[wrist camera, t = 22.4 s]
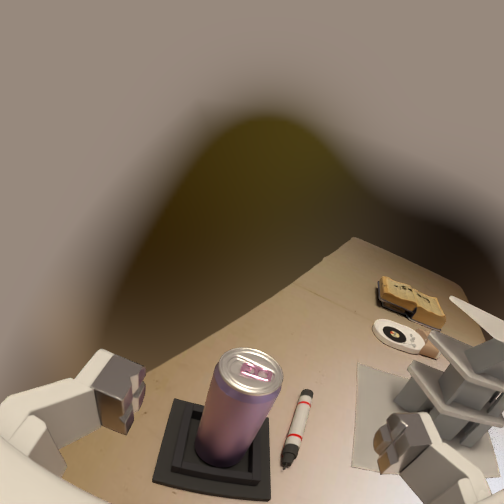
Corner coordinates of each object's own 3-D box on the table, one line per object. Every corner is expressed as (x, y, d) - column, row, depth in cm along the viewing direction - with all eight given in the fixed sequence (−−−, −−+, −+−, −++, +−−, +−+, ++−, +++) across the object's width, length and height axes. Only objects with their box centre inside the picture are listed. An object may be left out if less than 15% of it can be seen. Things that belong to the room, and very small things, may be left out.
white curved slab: (443, 353, 56) (378, 331, 60) (437, 363, 57) (372, 341, 62) (434, 331, 66) (375, 309, 71) (429, 339, 67) (371, 319, 72)
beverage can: (236, 476, 25) (280, 404, 19) (186, 457, 25) (206, 378, 20) (248, 439, 30) (289, 358, 25) (203, 423, 31) (228, 337, 26)
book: (431, 311, 88) (438, 297, 86) (440, 332, 73) (449, 317, 71) (374, 287, 95) (381, 272, 93) (375, 306, 80) (383, 289, 78)
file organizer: (500, 476, 21) (580, 389, 14) (351, 466, 29) (451, 350, 21) (475, 396, 45) (525, 320, 38) (357, 362, 52) (406, 267, 45)
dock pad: (152, 482, 22) (152, 473, 21) (173, 402, 34) (175, 389, 33) (268, 501, 23) (276, 494, 22) (266, 421, 35) (273, 409, 34)
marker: (299, 395, 41) (303, 387, 40) (310, 399, 41) (315, 391, 40) (274, 471, 27) (279, 464, 26) (288, 475, 27) (294, 469, 26)
